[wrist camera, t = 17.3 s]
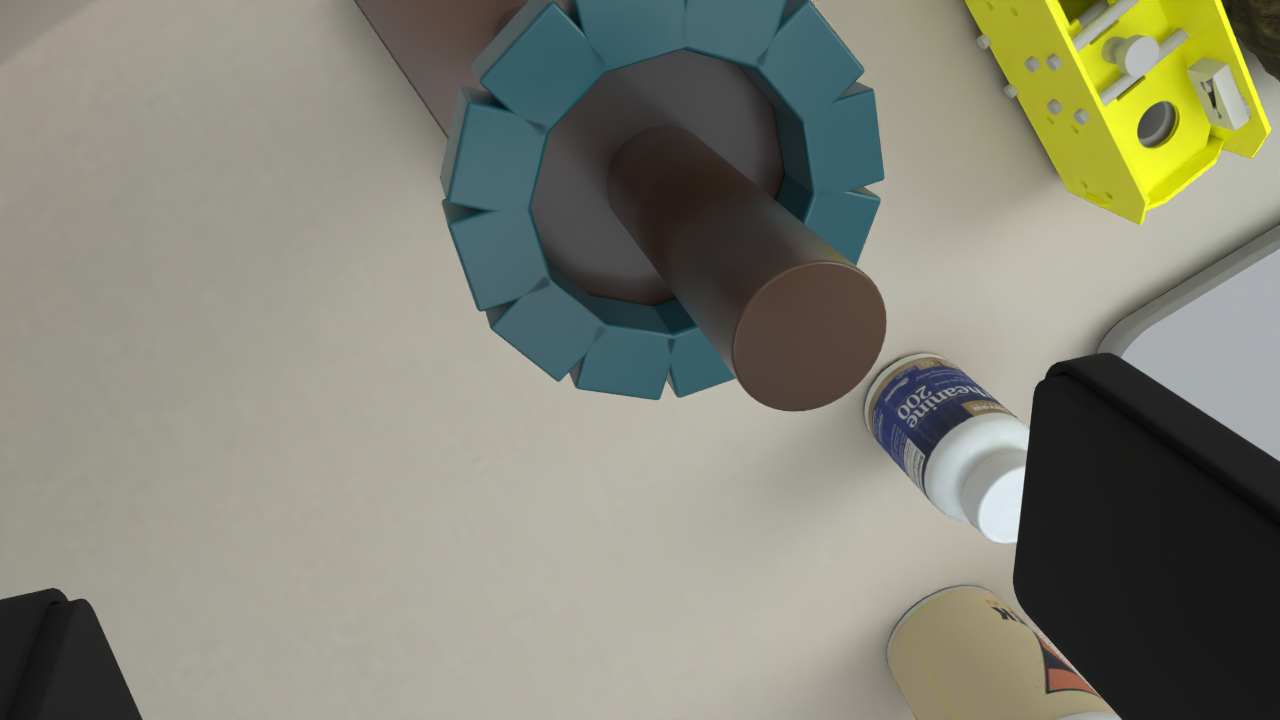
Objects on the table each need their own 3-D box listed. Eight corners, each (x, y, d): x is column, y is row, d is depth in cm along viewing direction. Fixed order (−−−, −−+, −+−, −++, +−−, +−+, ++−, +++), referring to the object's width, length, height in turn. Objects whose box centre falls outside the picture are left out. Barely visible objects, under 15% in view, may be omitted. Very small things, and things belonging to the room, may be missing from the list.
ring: (517, 416, 23) (527, 452, 22) (380, 29, 19) (383, 43, 17) (870, 295, 24) (902, 322, 23) (818, -100, 20) (852, -95, 18)
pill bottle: (951, 334, 50) (1074, 431, 42) (964, 421, 53) (1081, 529, 44) (852, 373, 50) (955, 479, 41) (869, 459, 52) (970, 575, 44)
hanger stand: (486, 193, 41) (686, 682, 17) (350, -9, 37) (357, 265, 12) (674, 73, 41) (1148, 395, 17) (560, -145, 37) (982, -134, 12)
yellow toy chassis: (1150, 110, 47) (1295, 157, 40) (1052, 190, 48) (1177, 251, 41) (1006, -200, 40) (1154, -212, 32) (891, -100, 40) (1011, -90, 33)
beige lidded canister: (1038, 636, 62) (1178, 795, 51) (911, 722, 62) (1024, 897, 52) (983, 544, 57) (1125, 699, 47) (846, 638, 58) (956, 811, 47)
